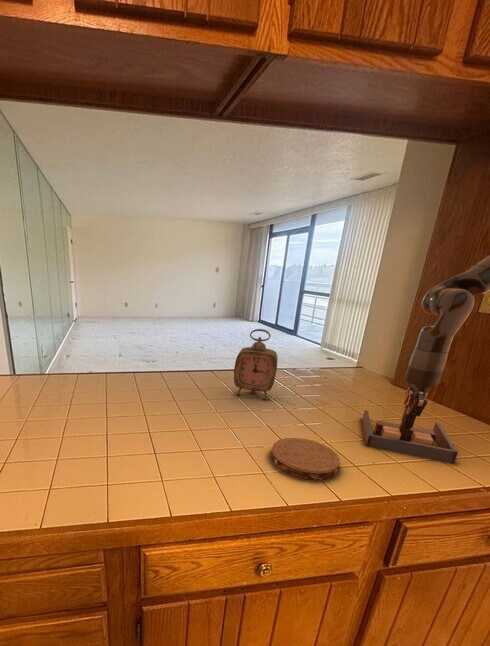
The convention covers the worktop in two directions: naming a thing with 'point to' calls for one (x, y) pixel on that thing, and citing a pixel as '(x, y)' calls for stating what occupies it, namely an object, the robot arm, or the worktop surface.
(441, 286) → the robot arm
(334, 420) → the worktop surface
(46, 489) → the worktop surface
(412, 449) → the corral
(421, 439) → the cube
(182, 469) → the worktop surface
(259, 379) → the tabletop clock
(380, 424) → the brush
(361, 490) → the worktop surface
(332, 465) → the brown disc
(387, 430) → the cube
